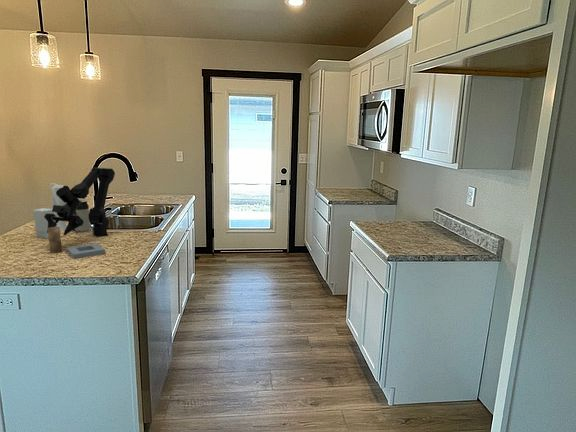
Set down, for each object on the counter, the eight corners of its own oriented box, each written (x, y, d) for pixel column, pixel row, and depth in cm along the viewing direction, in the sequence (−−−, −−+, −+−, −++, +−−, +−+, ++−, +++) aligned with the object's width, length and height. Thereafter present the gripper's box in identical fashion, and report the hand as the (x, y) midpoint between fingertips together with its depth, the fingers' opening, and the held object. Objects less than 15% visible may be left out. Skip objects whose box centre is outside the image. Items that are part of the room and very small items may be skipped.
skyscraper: (57, 231, 235) (53, 184, 230) (50, 229, 239) (46, 182, 233) (70, 229, 242) (67, 182, 236) (63, 227, 246) (60, 181, 240)
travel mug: (86, 227, 247) (84, 198, 243) (92, 230, 242) (90, 200, 238) (72, 230, 241) (70, 200, 237) (79, 232, 236) (76, 202, 232)
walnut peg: (60, 249, 202) (58, 226, 200) (62, 251, 199) (60, 228, 196) (49, 251, 199) (46, 227, 197) (51, 253, 196) (49, 229, 193)
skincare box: (57, 236, 226) (54, 208, 223) (46, 239, 220) (44, 211, 217) (45, 234, 229) (43, 207, 226) (35, 237, 223) (32, 209, 220)
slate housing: (96, 247, 208) (96, 243, 208) (105, 253, 198) (104, 249, 198) (66, 251, 199) (66, 247, 199) (73, 258, 189) (73, 254, 189)
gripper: (45, 197, 202) (29, 223, 193) (78, 199, 198) (63, 226, 190) (58, 210, 211) (43, 235, 203) (89, 212, 208) (76, 238, 199)
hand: (56, 233), depth 198 cm, fingers open, 9 cm apart
